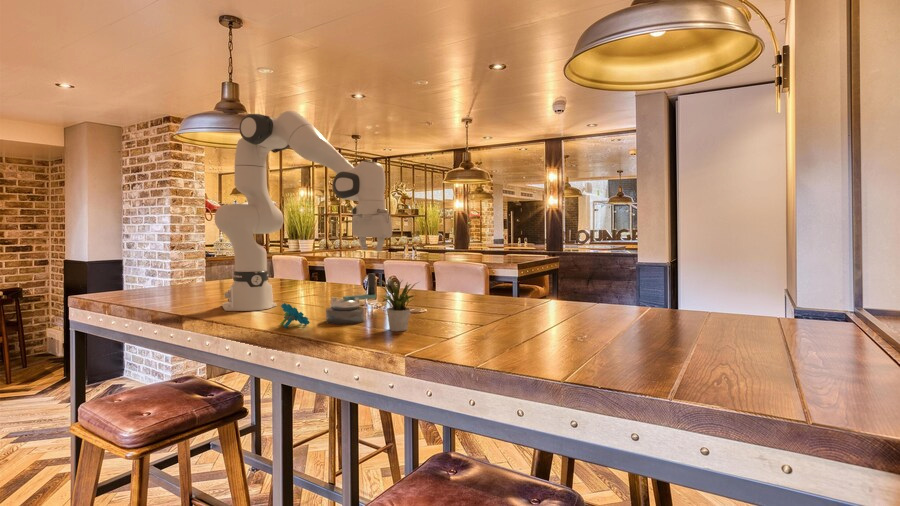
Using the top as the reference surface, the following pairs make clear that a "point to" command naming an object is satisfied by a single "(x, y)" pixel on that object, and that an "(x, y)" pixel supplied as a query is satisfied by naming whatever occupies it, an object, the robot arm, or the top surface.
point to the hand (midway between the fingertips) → (371, 250)
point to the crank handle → (354, 297)
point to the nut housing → (345, 316)
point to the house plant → (398, 307)
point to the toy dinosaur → (293, 315)
